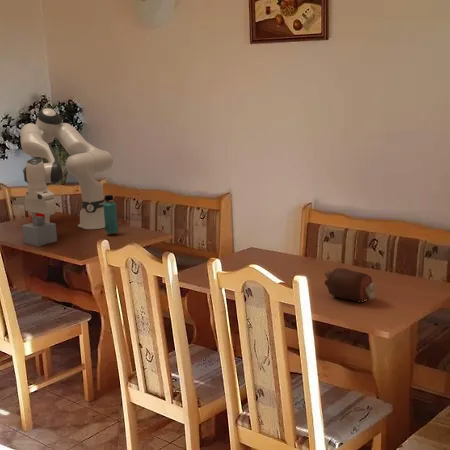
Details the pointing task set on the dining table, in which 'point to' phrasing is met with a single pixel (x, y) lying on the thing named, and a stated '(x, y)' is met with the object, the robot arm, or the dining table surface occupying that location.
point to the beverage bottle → (110, 215)
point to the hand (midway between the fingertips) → (41, 221)
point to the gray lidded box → (39, 232)
